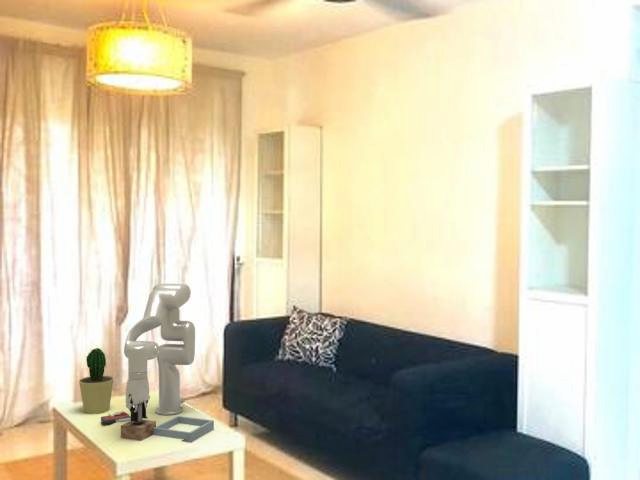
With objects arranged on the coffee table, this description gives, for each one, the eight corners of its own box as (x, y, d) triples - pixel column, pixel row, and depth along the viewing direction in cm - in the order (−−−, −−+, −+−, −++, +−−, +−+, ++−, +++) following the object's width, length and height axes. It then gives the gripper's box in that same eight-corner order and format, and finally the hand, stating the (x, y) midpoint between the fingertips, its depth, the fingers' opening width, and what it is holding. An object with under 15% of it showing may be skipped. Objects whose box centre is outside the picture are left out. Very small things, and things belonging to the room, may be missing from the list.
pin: (137, 433, 273) (137, 397, 273) (146, 434, 272) (146, 398, 271) (130, 436, 269) (130, 400, 269) (139, 437, 267) (139, 401, 267)
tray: (178, 424, 288) (178, 415, 288) (213, 429, 281) (213, 420, 281) (153, 437, 271) (153, 427, 271) (190, 442, 264) (190, 433, 264)
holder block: (136, 432, 277) (136, 418, 277) (156, 435, 273) (156, 421, 273) (120, 440, 268) (120, 425, 267) (141, 443, 264) (140, 428, 264)
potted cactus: (100, 404, 320) (99, 342, 319) (120, 409, 311) (120, 346, 310) (72, 411, 308) (71, 347, 307) (92, 417, 299) (91, 351, 298)
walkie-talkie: (102, 428, 284) (148, 421, 294) (102, 418, 284) (148, 411, 294) (97, 423, 291) (142, 416, 302) (97, 413, 291) (142, 406, 301)
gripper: (143, 370, 279) (143, 412, 279) (116, 379, 263) (117, 424, 264) (158, 371, 276) (158, 414, 277) (132, 380, 260) (132, 426, 261)
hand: (138, 418), depth 270 cm, fingers open, 4 cm apart
